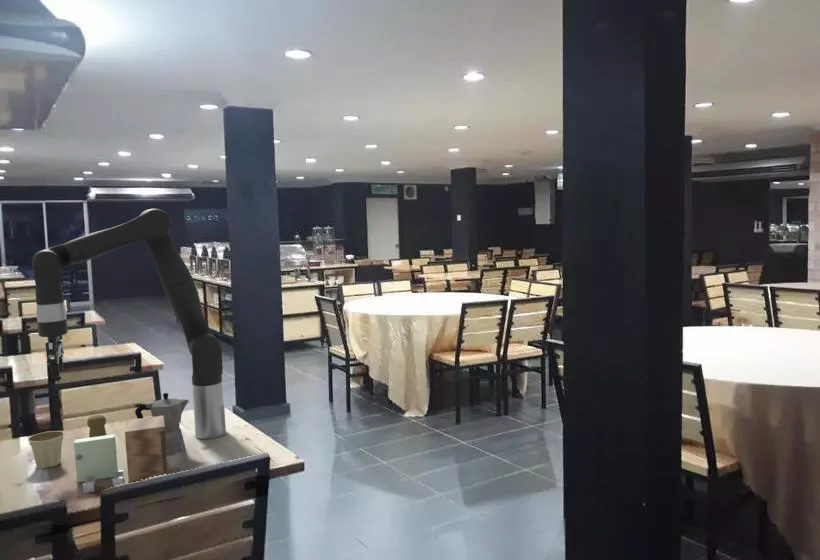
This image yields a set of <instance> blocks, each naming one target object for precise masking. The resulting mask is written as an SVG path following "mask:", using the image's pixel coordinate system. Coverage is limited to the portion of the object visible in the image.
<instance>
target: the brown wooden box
mask: <svg viewBox="0 0 820 560" xmlns="http://www.w3.org/2000/svg"><path fill="white" fill-rule="evenodd" d="M124 439H125V451H126V454H125V455H126V466H127V478H128V483H133V482H132V481H135V482H139V481H138V480H141V479H146V478H149V477H154V476H159V475H164V474H168V475H169V470H168V469H169V468H168V456H167V453H166V439H165V425H164V415H163V416H156V417H152V416H150V417H143V418H140V419H138V418H133V419H126V420H125V425H124ZM141 481H142V480H141Z"/></svg>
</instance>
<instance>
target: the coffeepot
mask: <svg viewBox="0 0 820 560" xmlns="http://www.w3.org/2000/svg"><path fill="white" fill-rule="evenodd" d="M162 396H163V397H162V399H159V400H155V401H152V402H147V403H141V404H138V407H137V408H136V409H135V411H134V413H135V416H136V417H137V418H136V419H140V418H144V415H143V413H142V411H150V412H151V417H156V416H163V415H164V425H165V439H166V453H167V455H169V456H173V455H174V454H175V455H177V454H176V453H178V454H180V453H182V452H184V451H185V449H186V443H185V440H184V436H183V432H182V428H181V427H180V423H181V422H182V414H183V411H184V410H185V408H186V407H187V405H188V403H190V401H189V400H188V399H185V398H183V399H182V398H181V399H180V398H173V397H172V398H169V393H168V392H164V393H163V394H162ZM179 452H180V453H179ZM175 455H174V456H175Z"/></svg>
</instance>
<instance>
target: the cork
mask: <svg viewBox="0 0 820 560" xmlns="http://www.w3.org/2000/svg"><path fill="white" fill-rule="evenodd" d="M106 418H107V417H106V416H104V415H103V414H96V415H91V416H89V417H88V419H87V422H86V423H87V427H88V428H89V433H88V434H89V436H88V438H91V437H98V436H105V435H107V430H106V428H105V425H106V422H107V419H106Z"/></svg>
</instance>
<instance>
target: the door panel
mask: <svg viewBox="0 0 820 560" xmlns="http://www.w3.org/2000/svg"><path fill="white" fill-rule="evenodd" d="M116 443H117V442H116V434H112V433H111V434H106V435H105V436H98V437H91V438H89V437H85V438H77V439H74V442H73V447H74V448H73V449H74V459H75V461H74V462H75V472H76V482H77V483H82V482H83V483H84V482H85V476H88V475H95V481H96V480H101V479H107V478H108V479H109V478H112V477H113V478H114V474H113V472H114V471H119V469H118V459H117V457H118V456H117V444H116Z"/></svg>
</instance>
